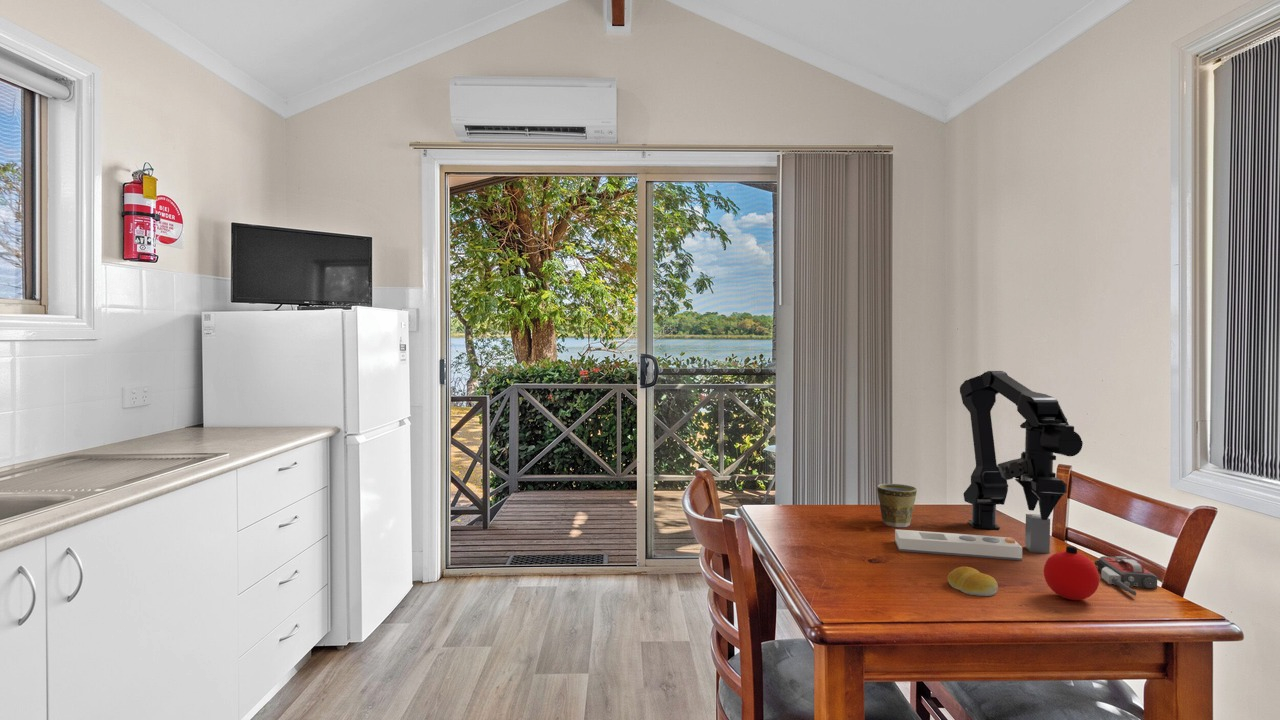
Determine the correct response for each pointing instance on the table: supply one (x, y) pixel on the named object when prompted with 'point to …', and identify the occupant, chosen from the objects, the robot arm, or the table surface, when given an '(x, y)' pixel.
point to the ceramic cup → (896, 503)
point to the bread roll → (972, 581)
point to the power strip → (958, 544)
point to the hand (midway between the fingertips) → (1037, 514)
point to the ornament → (1071, 574)
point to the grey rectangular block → (1037, 534)
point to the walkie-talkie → (1125, 573)
